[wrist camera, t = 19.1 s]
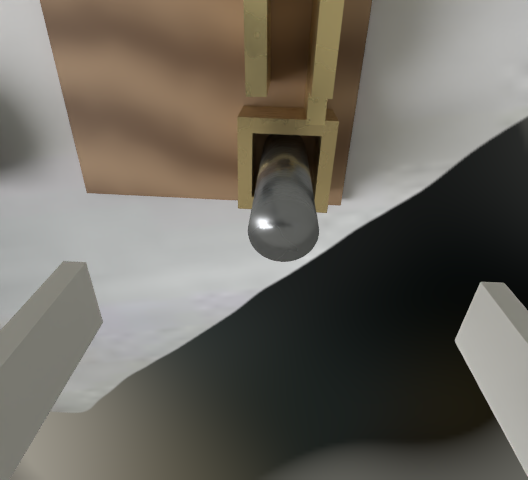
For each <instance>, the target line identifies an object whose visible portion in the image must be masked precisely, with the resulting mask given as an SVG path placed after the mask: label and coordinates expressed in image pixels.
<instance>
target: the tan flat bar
mask: <svg viewBox="0 0 528 480" xmlns="http://www.w3.org/2000/svg"><path fill="white" fill-rule="evenodd" d="M243 7H244V50H245V92H246V97H267V94H268V90H269V86H270V82H271V0H243Z"/></svg>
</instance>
